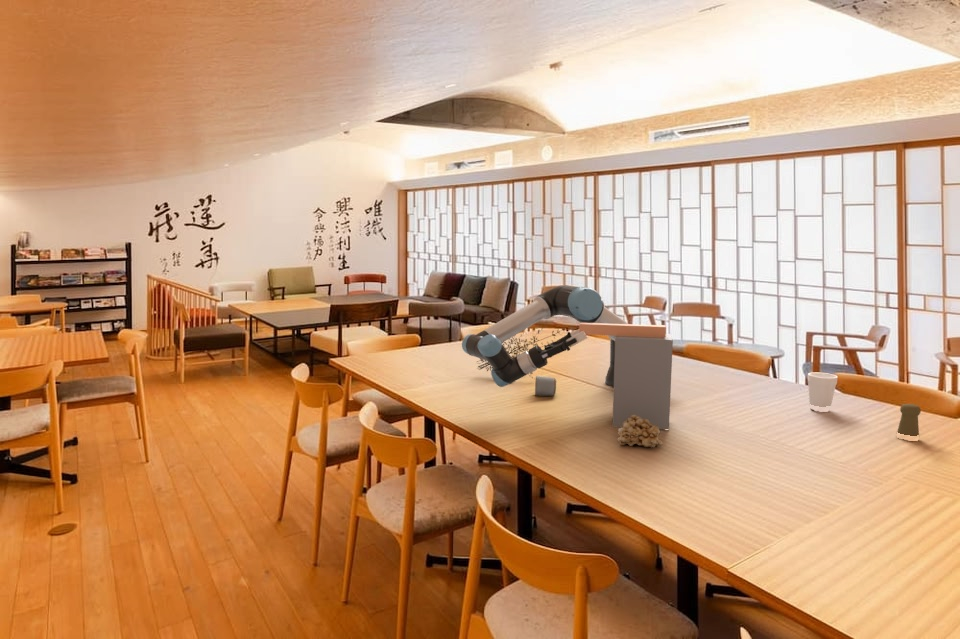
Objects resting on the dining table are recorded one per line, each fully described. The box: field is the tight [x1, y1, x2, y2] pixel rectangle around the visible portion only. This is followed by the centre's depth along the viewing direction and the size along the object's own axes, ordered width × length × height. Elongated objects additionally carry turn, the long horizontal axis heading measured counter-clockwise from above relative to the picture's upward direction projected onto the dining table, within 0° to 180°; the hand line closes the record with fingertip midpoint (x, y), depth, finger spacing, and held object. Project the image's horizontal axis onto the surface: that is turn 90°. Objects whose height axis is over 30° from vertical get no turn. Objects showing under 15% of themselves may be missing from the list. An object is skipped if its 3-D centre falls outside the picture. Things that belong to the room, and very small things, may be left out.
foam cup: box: [807, 371, 838, 407], centre depth 221 cm, size 10×9×13 cm
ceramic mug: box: [534, 375, 557, 397], centre depth 244 cm, size 11×8×8 cm
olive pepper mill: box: [896, 403, 922, 436], centre depth 191 cm, size 6×6×11 cm
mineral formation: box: [617, 415, 663, 448], centre depth 188 cm, size 8×13×15 cm
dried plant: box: [476, 322, 571, 379], centre depth 271 cm, size 30×31×45 cm
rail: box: [578, 322, 667, 338], centre depth 205 cm, size 28×4×4 cm, turn 76°
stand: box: [612, 333, 674, 430], centre depth 205 cm, size 18×12×30 cm, turn 76°
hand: (587, 331), depth 207 cm, fingers open, 13 cm apart
